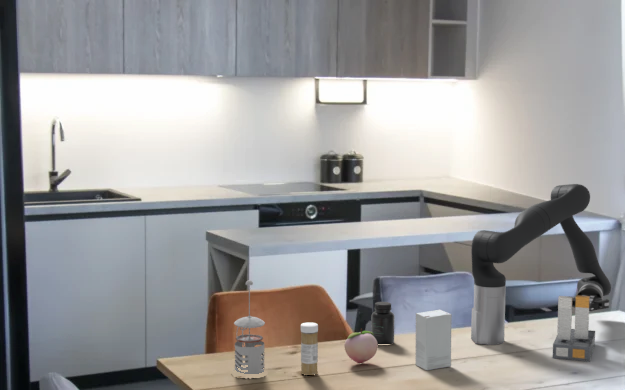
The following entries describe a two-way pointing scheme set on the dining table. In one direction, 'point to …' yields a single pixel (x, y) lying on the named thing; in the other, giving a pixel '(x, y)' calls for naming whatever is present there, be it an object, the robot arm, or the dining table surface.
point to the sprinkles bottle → (309, 348)
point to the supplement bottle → (383, 323)
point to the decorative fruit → (361, 346)
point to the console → (574, 347)
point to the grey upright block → (564, 317)
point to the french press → (249, 344)
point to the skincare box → (433, 339)
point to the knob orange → (581, 317)
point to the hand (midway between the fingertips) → (585, 308)
